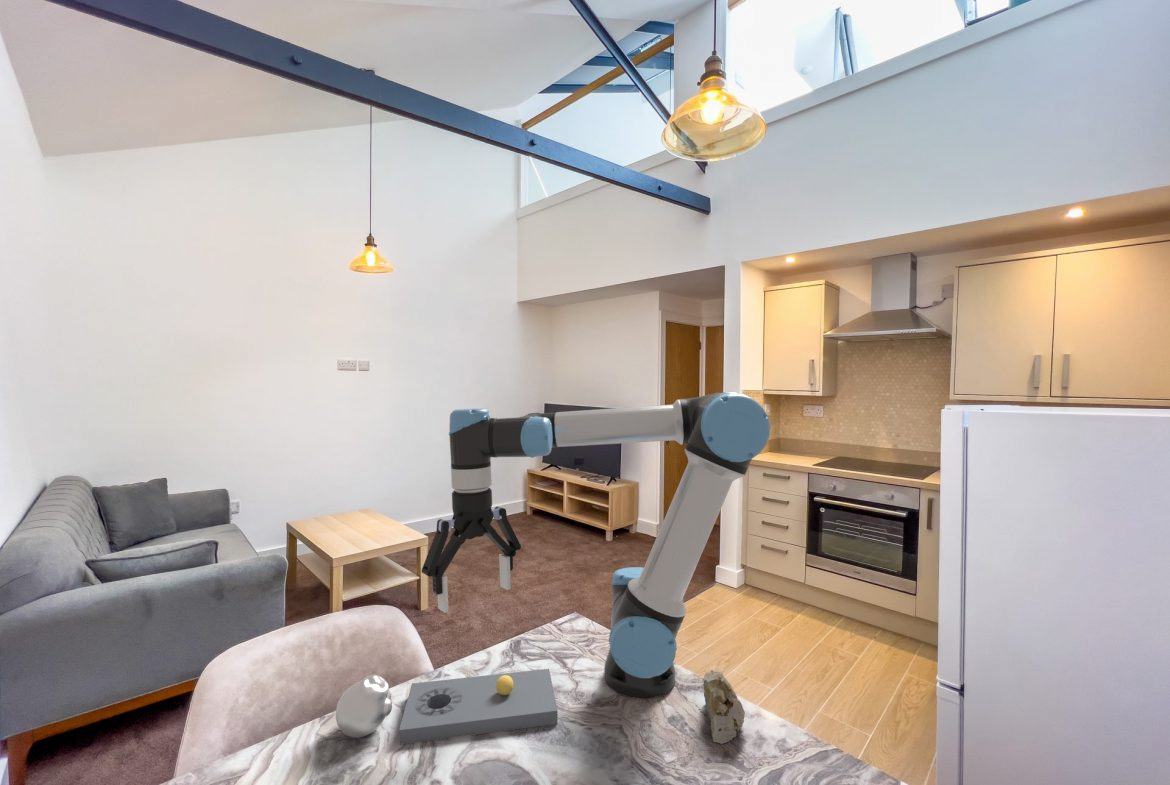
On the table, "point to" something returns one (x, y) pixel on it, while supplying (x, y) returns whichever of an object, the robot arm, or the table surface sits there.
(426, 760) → the table surface
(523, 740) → the table surface
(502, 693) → the ball
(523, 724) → the grey flat block
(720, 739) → the rock
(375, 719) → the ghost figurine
